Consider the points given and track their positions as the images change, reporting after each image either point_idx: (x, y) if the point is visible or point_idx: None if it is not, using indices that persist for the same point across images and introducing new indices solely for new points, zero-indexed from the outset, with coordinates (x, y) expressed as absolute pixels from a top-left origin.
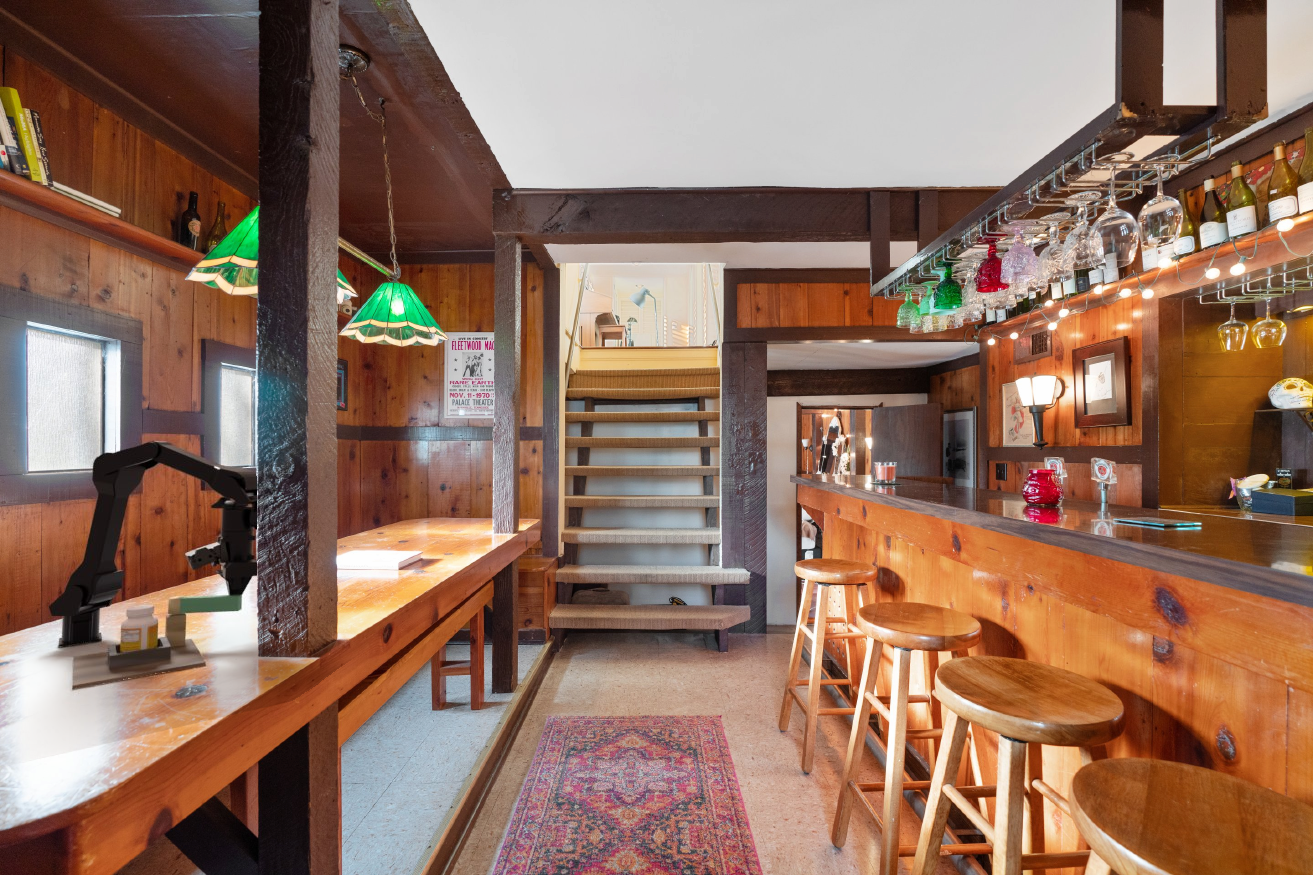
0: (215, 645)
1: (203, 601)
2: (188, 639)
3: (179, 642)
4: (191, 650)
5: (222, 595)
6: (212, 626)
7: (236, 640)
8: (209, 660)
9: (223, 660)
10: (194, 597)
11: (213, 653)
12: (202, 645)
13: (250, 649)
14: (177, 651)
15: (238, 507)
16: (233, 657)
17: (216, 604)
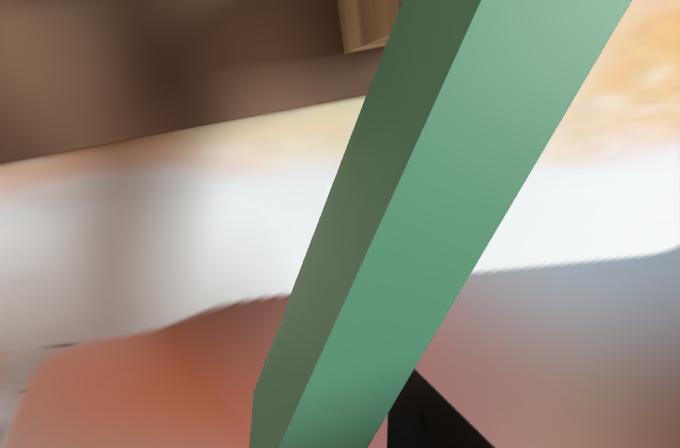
0: (313, 184)
1: (359, 219)
2: None
3: (342, 20)
4: (201, 93)
5: (388, 405)
6: (659, 145)
7: None
8: (29, 183)
9: (12, 238)
10: (464, 115)
11: (165, 188)
12: (345, 131)
13: (175, 310)
14: (210, 20)
15: None
16: (57, 269)
17: (300, 314)
